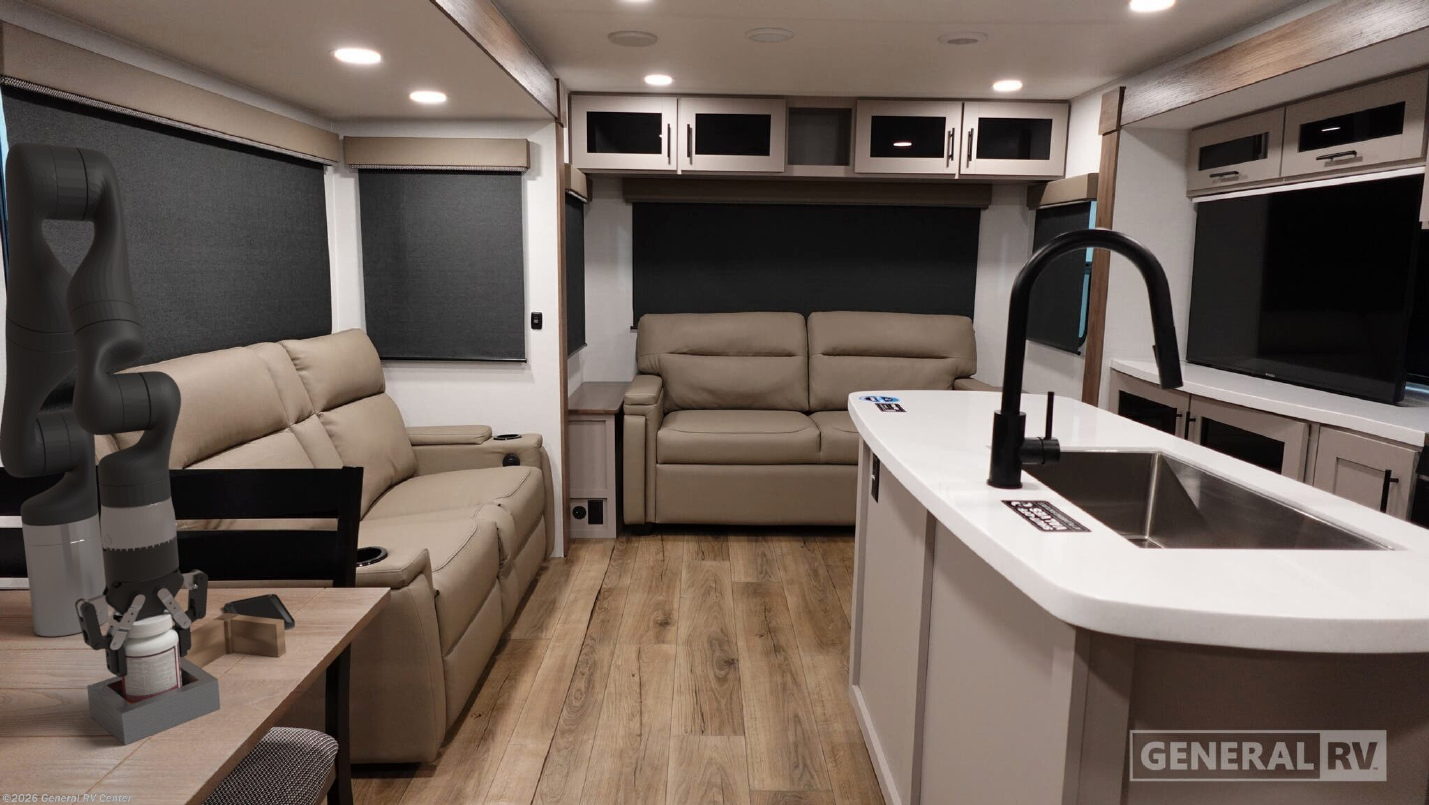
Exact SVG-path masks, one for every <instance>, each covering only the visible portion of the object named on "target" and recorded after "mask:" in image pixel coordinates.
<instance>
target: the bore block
mask: <svg viewBox="0 0 1429 805" xmlns="http://www.w3.org/2000/svg"><path fill="white" fill-rule="evenodd" d="M180 667H181V679H182V687H179V688H176V689H173V690H171V691H168V692H165V693H162V694H159V695H156V696H154V697H151V698H148V699H145V700H142V701H139V702H137V703H134V704H130V703H129V702H127V701H126V700H125V699H124V696H123V684H122V677H120V678H119V677H118V676H116V675H115V676H113V677H111V678H107V679H104V680H100V681H98V682H95V683H92V684H89V685H87V686H86V687H87V697H88V707H89V708H88V709H89V716H90V717H91V718H92V719H94V720H95V721H96V723H98V724H99V725H100V726H102V727H103V728H104V729H105V730H106V731H108V733H110V734H111V735H112V736H114V737H115V739H116V740H118V741H119V742H120V743H122V745H124V746H127V745H130V744H132V743H135V742H138V741H140V740H142V739H145V738H147V737H150V736H152V735H155V734H158V733H160V732H164V731H166V730H168V729H170V728H174V727H176V726H179V725H182V724H183V723H187V722H189V721H192V720H194V719H198V718H200V717H202V716H205V715H207V714H210V713H213V712H215V711H217V710H221V700H220V689H219V679H218V678H217V677H215V676H214V675H212V674H211V673H209V672H207V671H206V670H204V669H202V668H200V667H198V666H197V665H195V664H193V663H192V662H190V661H189V660H187V659H186V658H184V657H180Z"/></svg>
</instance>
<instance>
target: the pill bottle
mask: <svg viewBox="0 0 1429 805" xmlns="http://www.w3.org/2000/svg"><path fill="white" fill-rule="evenodd" d="M172 626H174V622H173V621H172V614H171V613H169V611H167V610H164V613H161V614H156V615H149V616H147V617H145V618H143V619H140V620H135V621H134V623H133V626H132V628H131V630H130V631H128V632H127V634H126V636H125V639H124V641H123V643H122V645H121V646H122V647H124V651H125V662H126V673H127V674H126V676H123V677H122V684H123V696H124V699H125V700H126V701H127V702H129V703H130V704H134V703H137V702H139V701H142V700H145V699H148V698H151V697H154V696H156V695H159V694H162V693H165V692H168V691H171V690H173V689H176V688H179V687H182V679H181V667H180V653H179V639H178V634H177V632H176V631H175V630H173V629H172Z"/></svg>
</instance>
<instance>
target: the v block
mask: <svg viewBox="0 0 1429 805" xmlns="http://www.w3.org/2000/svg"><path fill="white" fill-rule="evenodd" d="M285 631H286V630H284V620H280V619H271V618H262V617H253V616H244V615H240V614H231V613H226V612H225V613H222V614H221V615H219V616H217V617H215V618H213V619H212V620H211V621H209V622H206V623H205V624H203V625H201V626H199V627H197V628H195V629H193V630H192V631H191V630H190V632H191V645H192V646H191V649H190V650H187V655H186V656H183V657H184V658H186V659H187V660H189V661H190V662H192V663H193V664H195V665H197V666H198V667H200V668H201V669H202V668H204V667H205V666H207V665H209V664H211V663H212V662H214V661H216V660H217V659H219V658H221V657H223V656H224V655H226V654H229V655H231V654H232V653H241V654H250V655H254V656H255V655H258V656H265V657H273V658H280V657H281V656H283V655H284V654H286V653H287V650H286V647H287V646H286V632H285Z"/></svg>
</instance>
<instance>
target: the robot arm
mask: <svg viewBox="0 0 1429 805" xmlns="http://www.w3.org/2000/svg"><path fill="white" fill-rule="evenodd" d="M119 182H120V181H119V178H118V175H117V171H116V168H115V167H114V164H113V162H112V160H111V158H110V157H109V156H108V155H107V154H106V153H104V152H102V151H99V150H97V149H96V150H95V149H91V148H85V147H75V146H64V145H56V144H48V143H39V142H38V143H37V142H24V141H23V142H16V143H14V144H12V145H11V146H10V148H9V150H8V152H7V155H6V159H5V165H4V185H5V186H4V187H5V188H4V189H5V190H4V191H5V203H6V204H5V205H6V206H5V207H6V221H7V222H6V223H7V236H8V240H7V241H8V273H7V274H8V275H7V291H6V304H5V327H4V328H5V330H4V331H5V334H4V335H5V338H4V339H5V361H6V362H5V363H6V364H5V366H6V367H5V369H6V370H5V372H6V373H5V374H6V375H5V389H4V396H3V397H4V399H3V405H2V413H1V418H0V420H1V422H0V462H1V465H2V467H3V468H4V470H5V472H6V473H8V474H9V475H10V476H11V477H15V478H35V477H42V476H49V475H56V474H64V475H63V477H62V478H61V480H59V481H58V482H57V483H56V484H55V485H53V486H51V487H50V488H48V489H47V490H45V491H42V492H41V493H39V494H36V495H34V496H31V497H30V498H28V499H27V500H25V501H23V503H22V504H21V506H20V518H21V527H22V535H23V543H24V551H25V553H24V554H25V560H26V561H25V562H26V569H27V570H26V571H27V577H28V578H27V579H28V587H29V588H28V589H29V594H30V604H31V606H30V607H31V615H32V624H33V631H34V632H33V633H35V635H38V636H42V637H62V636H69V635H74V634H75V635H76V634H79V633H81V634H82V637H83V642H84V643H85V645H87V646H89V647H90V648H91V649H92V650H94V651H101V650H104V651H105V661H106V668H107V671H109V672H110V673H111V674H113V675H114V676H115V677H116V676H118V677H119V678H120V677H123V676H126V674H127V673H126V662H125V651H124V647H122V646H121V645H122V643H123V641H124V639H125V636H126V634H127V632H128V631H130V630H131V628H132V626H133V623H134V621H135V620H140V619H143V618H145V617H147V616H149V615H156V614H161V613H164V610H167V611H169V613H171V614H172V621H173V626H172V627H171V628H172V629H173V630H175V631H176V632H177V634H178V639H179V653H180V657H183V656H186V655H187V650H190V649H191V646H192V645H191V626H192V624H193V623H194V622H196V621H197V620H202V619H204V618H205V617H206V615H207V606H208V604H207V603H208V586H209V575H208V574H207V573H205V572H203V571H201V570H199V569H196V568H195V569H192V570H191V571H190V572H188V573H181V571H180V569H179V566H180V565H179V564H180V563H179V562H180V561H179V548H178V537H177V536H178V535H177V529H178V524H177V520H176V515H175V509H174V506H173V501H172V500H173V499H172V492H171V491H172V490H171V479H170V457H171V456H170V455H171V450H172V444H173V439H174V437H175V436H174V435H175V431H176V427H177V424H178V420H179V415H180V412H181V406H182V396H181V390H180V388H179V386H178V384H177V382H176V381H175V379H174V378H172V376H171V375H169V374H168V373H166V372H163V371H158V370H157V371H156V370H154V371H153V370H152V371H137V372H135V371H133V372H122V373H106V372H107V371H109V370H111V369H115V368H118V367H122V366H125V365H128V364H131V363H134V362H136V361H138V360H140V359H141V358H142V357H144V355H145V353H146V352H147V350H148V343H147V338H146V333H145V330H144V326H143V323H142V319H141V315H140V312H139V309H138V305H137V302H136V298H135V294H134V290H133V286H132V279H131V272H130V264H129V251H128V250H129V249H128V241H127V232H126V225H125V224H126V223H125V217H124V210H123V209H124V208H123V201H122V193H121V188H120V183H119ZM45 220H51V221H69V222H91V223H92V224H93V232H94V233H93V240H92V242H91V244H90V247H89V249H88V251H87V253H86V254H85V257H84V258H83V259H82V261H81V263H80V264H79V266H78V267H77V269H76V270H75V273H74V274H73V276H72V275H71V273H70V272H69V271H68V270H67V268H65V266H64V265H63V264H62V263H61V262H60V260H59V259H58V257H57V256H56V255H55V254H54V251H53V250H52V248H50V245H49V244H48V242H47V240H46V239H45V237H44V233H43V228H42V227H43V222H44V221H45ZM74 369H76V378H75V385H74V389H73V397H72V410H60V411H51V412H50V411H49V412H48V411H47V412H40V410H41V408H42V406H43V404H44V402H45V401H46V399H47V397H48V396H49V395H50V394H51V393H52V392H53V390H55V389H56V387H57V386H58V385H60V383H61V382H62V381H64V379H65V378H66V377H68V376H69V374H71V372H72V371H73V370H74ZM135 432H142V435H141V437H140V439H139V440H138V441H137V442H136V443H135V444H133V445H131V446H129V447H127V448H124V449H119V450H117V451H114V452H111V453H109V454H106V455H104V456H103V457H101V459H99V461H98V465H97V466H96V464H97V463H96V440H95V439H96V438H95V436H107V435H109V436H110V435H118V434H126V433H135ZM96 468H97V469H96ZM96 470H97V471H96ZM97 476H98V483H97ZM97 484H98V485H97ZM98 486H99V498H100V516H99V508H98V506H99V505H98ZM183 585H184V587H185V588H186V589H188V595H187V596H188V598H187V610H185V611H184V609H183V608H182V606H181V605H180V604H179V602H177V600H176V599H175V598H176V596H177V595H178V593H179V591H180V590H181V588H182V586H183ZM108 605H109V606H110V607H112V608H113V609H112V612H111V615H110V617H109V607H108ZM107 621H108V626H107V628H106V631H105V633H104V635H103V633H102V630H101V626H102V625H103V624H104V623H106V622H107Z"/></svg>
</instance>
